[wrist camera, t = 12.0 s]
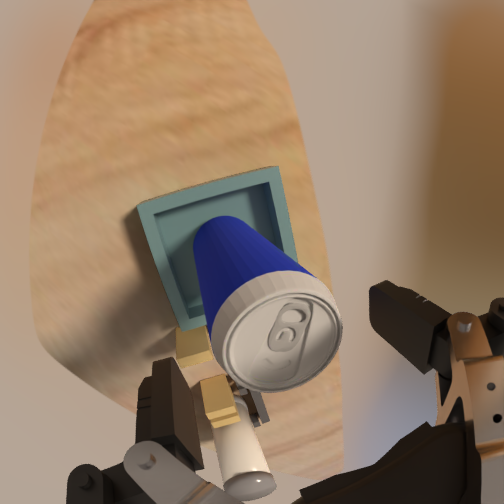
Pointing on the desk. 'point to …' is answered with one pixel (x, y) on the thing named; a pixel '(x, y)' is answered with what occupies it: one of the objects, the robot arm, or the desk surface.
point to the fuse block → (214, 380)
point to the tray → (200, 211)
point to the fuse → (242, 458)
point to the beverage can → (263, 309)
